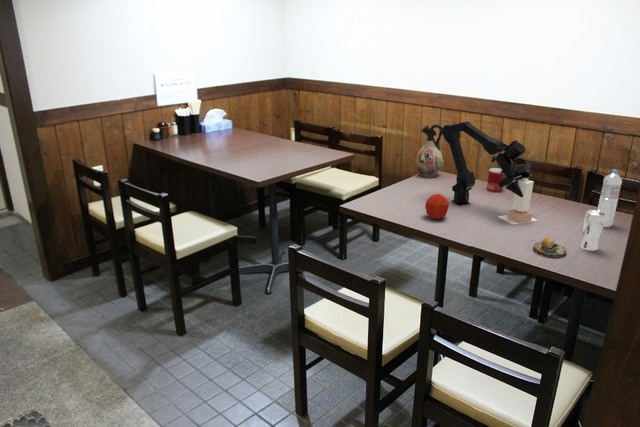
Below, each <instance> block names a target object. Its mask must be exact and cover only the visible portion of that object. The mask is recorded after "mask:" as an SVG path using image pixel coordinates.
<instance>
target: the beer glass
mask: <svg viewBox="0 0 640 427" xmlns="http://www.w3.org/2000/svg"><path fill="white" fill-rule="evenodd" d="M605 215H606V214H605V213H604V212H602V211H598V209H588V210H586V213H585V215H584V220H583V226H582V227H583V228H582V229H583V231H582V232H583V233H582V234H583V235H582V240H581V242H580V243H581V244H580V245H579V247H580V248H581V249H582V250H583V251H588V252H595V251H597V250H598V242H599V239H600V236H601V234H602V232H603V230H604V228H605V227H604V222H605Z"/></svg>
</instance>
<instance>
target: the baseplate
mask: <svg viewBox="0 0 640 427" xmlns="http://www.w3.org/2000/svg"><path fill="white" fill-rule="evenodd" d="M497 218H498V219H501V220H503V221H505V222H507V223H508V224H511V225H517V224H518V225H519V224H523V223H524V224H525V223H530V222H536V221H537V222H538V219H537V218H534V217H533V216H532V219H531V221H527V222H521V223H517V222H515V221H514V220H512V219H510V218H508V214H506V215H504V214H503V215H498V216H497Z"/></svg>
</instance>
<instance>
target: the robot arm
mask: <svg viewBox="0 0 640 427" xmlns="http://www.w3.org/2000/svg"><path fill="white" fill-rule="evenodd" d="M462 132H463V133H465V134H466V135H468V136H469V137H471V138H472V139H473V140H475V141H476V142H478V143H479V144H480V145H481V146H482V147H483V149H484V151H486V153H488V154H489V155H492V159H491V162H490V163H495V162H496V163H497V165H498V167H499V168H500V169H501V170H502V171H501V174H502V173H504V175H505V177H504V179H502V180H501V181H499V182H498V186H499V188H500V189H501V188H503V189H505V190H508V191H510V192H512V193H514V195H515V194H516V195H518V196H520V197H523V194H522V192H521V190H520V188H519V186H518V180H520V179H523V178H528V179H530V177H531V176H533V172H532V170H531V167H532V164H531V163H530V162H529V160H527V161H526V160H525V161H523V162H522V164H518V163H517V162H516V163H515V162H513V161H515V160H517V159H518V158H519V157H521V156H522V155H523V154H525V153H526V150H527V149H526V147H525V146H524V145H523V144H522V143H520V141H519V142H518V140H517V139H516V140H513V141H512V142H510V144H506V143H504V141H502V140H501V139H499V138H495V137H492V136H489V135H488V134H486V133H485V132H483V131H482V130H481V129H479V128H477V127H476V126H475V125H473V124H472V123H471V122H470V121H468V120H467V121H461V122H459V123H457V124H456V123H452V124H446V125H444V126H442V136H443V138H444V140H445V142H447V143H448V144H449V148H450V152H451V154H452V158H453V162H454V165H455V169H456V171H457V174H456V178H455V180H456V183H455V184H454V185H452V187H451V190H452V192H453V199H452V200H451V202H452V203H453V204H456V205H457V206H462V205H468V204H470V201H469V200H470V191H471V190H472V189H473V187H474V186H475V184H476V177H475V173H474V172H473V171H470V170H469V169H468V166H467V163H466V159H465V155H464V153H463V149H462V145H461V142H460V139H461V133H462ZM496 154H497V155H496Z"/></svg>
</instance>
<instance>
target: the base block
mask: <svg viewBox="0 0 640 427" xmlns="http://www.w3.org/2000/svg"><path fill="white" fill-rule="evenodd" d="M507 215H508V218H510V219H512V220H514V221H515V222H517V223H519V224H522V223H521V222H525V223H528V222H527V221H531V219H532V217H533V213H532V212H530V211H529V210H526V211H524V212H521V211H518V210H515V209H509V210H508V212H507ZM531 222H532V221H531Z"/></svg>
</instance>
